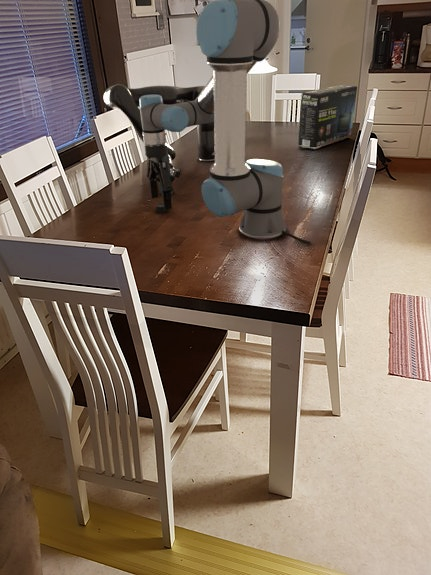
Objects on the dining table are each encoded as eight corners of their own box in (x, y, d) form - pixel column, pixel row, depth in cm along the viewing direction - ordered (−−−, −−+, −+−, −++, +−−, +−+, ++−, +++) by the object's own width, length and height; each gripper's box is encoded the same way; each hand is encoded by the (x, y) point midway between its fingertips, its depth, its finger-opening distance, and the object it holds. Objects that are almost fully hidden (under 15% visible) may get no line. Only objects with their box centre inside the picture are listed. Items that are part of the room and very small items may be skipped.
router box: (314, 151, 231) (318, 94, 217) (296, 148, 237) (299, 92, 224) (352, 138, 251) (358, 85, 238) (335, 135, 258) (340, 83, 245)
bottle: (170, 190, 188) (166, 139, 177) (174, 194, 184) (169, 142, 173) (159, 192, 186) (154, 141, 176) (162, 196, 182) (157, 143, 172)
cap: (154, 212, 168) (153, 206, 167) (159, 208, 171) (158, 202, 170) (164, 213, 167) (164, 207, 166) (169, 209, 170) (168, 203, 169)
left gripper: (146, 159, 191) (145, 171, 177) (180, 156, 192) (183, 168, 178) (148, 176, 195) (148, 189, 181) (182, 174, 196) (184, 187, 182)
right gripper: (179, 150, 148) (184, 211, 159) (153, 135, 167) (159, 191, 178) (157, 153, 145) (163, 216, 156) (133, 138, 165) (140, 195, 176)
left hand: (165, 179), depth 179 cm, fingers closed on bottle, 4 cm apart
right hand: (161, 203), depth 167 cm, fingers open, 13 cm apart
